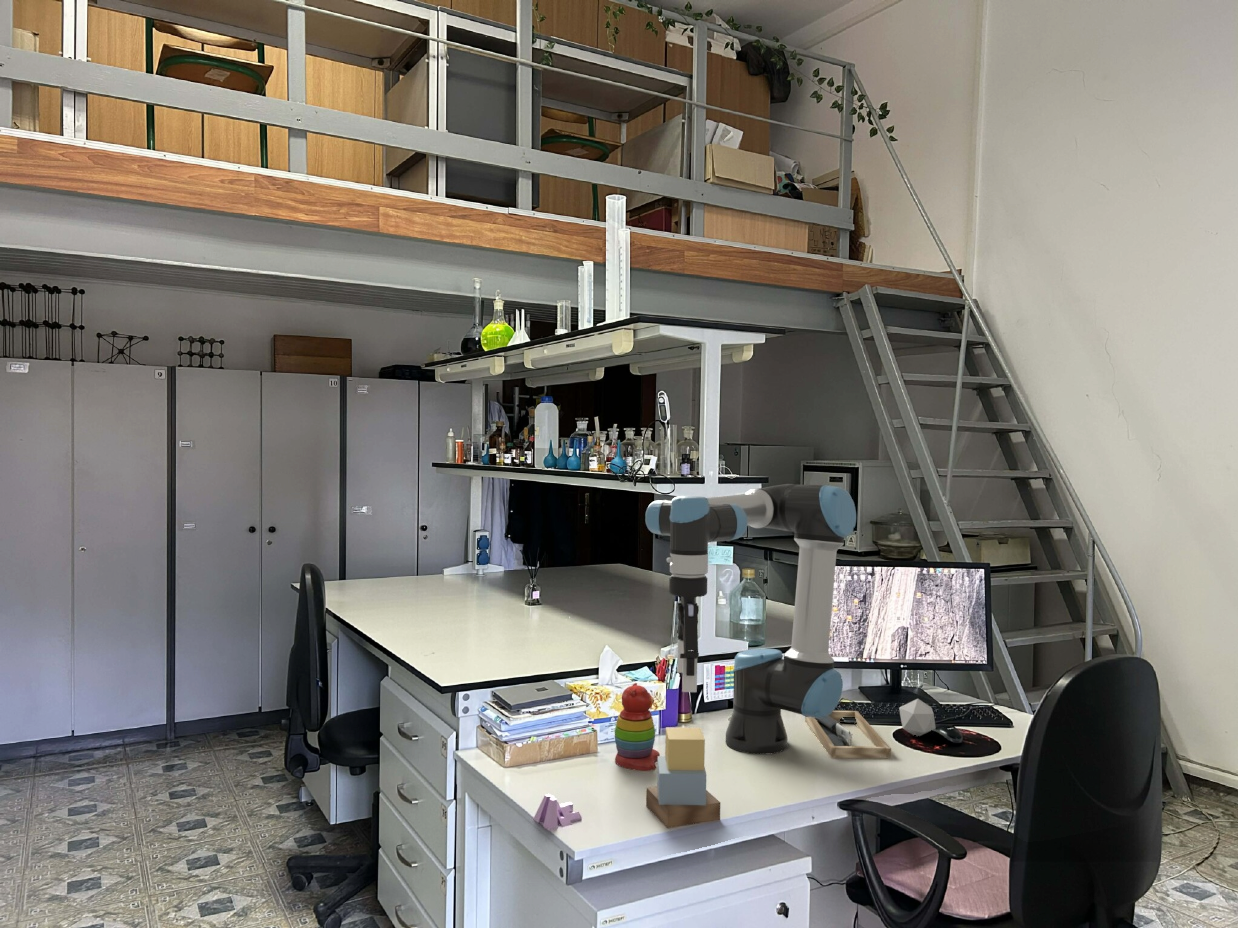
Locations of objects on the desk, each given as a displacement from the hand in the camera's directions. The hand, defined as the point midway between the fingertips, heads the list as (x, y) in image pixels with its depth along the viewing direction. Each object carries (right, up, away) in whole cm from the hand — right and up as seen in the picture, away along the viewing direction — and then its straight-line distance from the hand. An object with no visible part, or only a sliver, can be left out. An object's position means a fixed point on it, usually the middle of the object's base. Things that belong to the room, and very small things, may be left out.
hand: (686, 681), depth 168 cm
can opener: (+40, -27, +46) cm, 67 cm away
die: (+63, -27, +48) cm, 84 cm away
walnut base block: (-1, -27, -1) cm, 27 cm away
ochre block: (0, -16, 0) cm, 16 cm away
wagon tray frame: (+44, -26, +46) cm, 68 cm away
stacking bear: (-9, -26, +29) cm, 40 cm away
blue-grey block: (-1, -22, -1) cm, 22 cm away
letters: (-25, -27, -4) cm, 37 cm away
